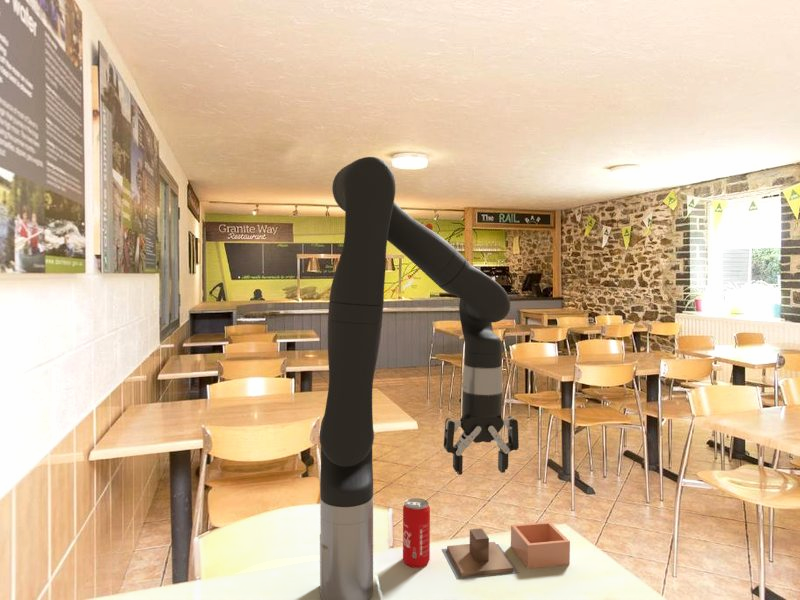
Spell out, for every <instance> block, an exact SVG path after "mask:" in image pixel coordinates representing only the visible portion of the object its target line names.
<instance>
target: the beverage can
mask: <svg viewBox="0 0 800 600" xmlns="http://www.w3.org/2000/svg"><path fill="white" fill-rule="evenodd" d="M403 503H404V504H403V507H402V560H403V562H404V564H405V565H406V566H408V567H411V568H417V569H419V568H423V567H426V566H427V565H428V564H429V561H430V560H431V558H430V557H431V556H430V555H431V552H430V551H431V550H430V549H431V548H430V547H431V538H430V537H431V536H430V535H431V533H430V532H431V508H430V507H431V506H430V503H429V501H427V500H426V499H423V498H418V497H417V498H415V497H414V498H409V499H407V500H405V501H404V502H403Z"/></svg>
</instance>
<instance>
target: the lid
mask: <svg viewBox="0 0 800 600" xmlns="http://www.w3.org/2000/svg"><path fill="white" fill-rule="evenodd" d="M488 536H489V535H487V533H486V532H485V530H483V528H473V529H471V528H470V529H469V543H468V544H464V543H463V544H454V545H447V546H446V549H447V551H448V553H449V554H450V556H451V558H452V560H453V562H454V564H455V566H456V568H457V569H458V571H459V573H460V575H461V577H468V576H478V575H488V574H498V573H508V572H513V567H512V565H511V564H510V563H509V561H508V560H507V558H506V557H505V556H504V554H503V553H502V552H501V550H500V549H499V547H498V546H497V545H496V544H497V543H496V541H490V538H489V537H488Z"/></svg>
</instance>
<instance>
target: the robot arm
mask: <svg viewBox="0 0 800 600" xmlns="http://www.w3.org/2000/svg"><path fill="white" fill-rule="evenodd" d="M331 187H332V188H331V189H332V195H333V198H334V201H335V202H336V204H337V206H338V207H339V208H340V209H341V211H344V214H345V215H344V217H345V219H344V237H343V244H342V250H341V253H340V256H339V259H338V262H337V265H336V269H335V271H334V276H333V279H332V283H331V286H330V293H329V303H328V313H327V314H328V315H327V359H328V360H327V361H328V362H327V363H328V388H327V389H328V390H327V395H326V396H327V398H326V403H325V409H324V414H323V417H322V419H321V422H320V429H319V430H320V431H319V437H318V438H319V444H320V479H319V480H320V481H319V486H320V487H319V493H320V494H319V496H320V497H319V500H320V501H319V503H320V504H319V505H320V506H319V507H320V508H319V509H320V518H319V519H320V522H319V523H320V534H319V589H320V600H369V599H370V598H371V597H372V595H373V593H374V470H373V469H374V468H373V444H374V440H375V431H374V421H373V419H374V417H373V413H374V412H373V387H374V377H375V371H376V366H377V361H378V356H379V351H380V350H379V348H380V341H381V333H382V325H383V318H384V317H383V315H384V314H383V313H384V301H385V300H384V298H385V296H384V295H385V284H386V283H385V280H386V279H385V278H386V267H387V265H386V264H387V245H388V242H389V244H391V245H392V246H394V247H395V249H397V250H398V251H400V252H401V253H402V254H403V255H404V256H405V257H406V258H407V259H408V260H410V261H411V262H412V263H413V264H414V265H415V266H416V267H417V268H419V269H420V270H421V271H422V272H423V273H424V274H425V275H426V276H427V277H428V278H430V280H432V281H433V282H434V283H435V284H436V285H437V286H438V287H439V288H440V289H442V290H443V291H444V292H446V293H448V294H451V295H453V296H456V297H458V299H459V304H458V311H459V312H458V313H459V319H460V326H461V331H462V335H463V338H464V345H465V346H464V365H463V366H464V367H463V372H462V373H463V374H462V383H461V388H462V401H461V402H462V403H461V405H462V406H461V409H462V410H461V418H460V419H459V420H458V419H457V420H456V419H452V418H449V417H447V418H446V419H445V422H444V423H445V424H444V435H443V448H444V450H446V452H447V453H449V454H452V467H453V470H454V472H456V474H457V475H463V463H464V462H463V459H464V458H463V457H464V456H463V453H464V452H465V451H466V449H467V448H469V447H470V446H471V444H472V443H475V444H479V443H483V442H484V443H491V442H492V441H494V443H495V444H496V445H497V447H498V449H499V450H498V453H497V455H498V456H497V469H498V471H499V472H500V473H502V474H503V473H504V474H505V473H506V470H508V468H509V455H510V452H513V451H517V450H519V449H520V447H519V443H520V439H519V422H518V420H517V419H516V418H515V417H513V416H508V417H507V418H503V416H502V413H503V382H504V381H503V370H502V369H503V367H502V364H503V363H502V362H503V361H502V359H503V358H502V357H503V356H502V355H503V354H502V353H503V342H502V340H501V338H500V336H499V335H497V334H496V333H495V332H494V330H493V323H497V322H500V321H502V320H504V319H505V318H507V316H508V314H509V313H510V310H511V300H510V297H509V295H508V293H507V291H506V290H505V288H504V287H502V285H501V284H500V283H499V282H497V281H495V280H494V279H493V278H492V277H490V275H487V274H486V273H484V271H481V270H480V269H478V268H477V267H475V266H473V264H472V263H470V262H469V261H468V260H467V259H466V258H465V257H464V256H463V254H461V253H460V252H459V251H458V250H457V249H456V248H455V247H454V246H453V245H452V244H450V243H449V242H448V241H447V240H446V239H444V238H443V237H442V236H441V235H439V234H438V233H436V232H435V231H433V230H432V229H430V228H428V227H427V226H425V225H424V224H422V223H420V222H419V221H417V220H416V218H413V217H412V216H411V215H409V214H408V213H407V212H406V211H404V210H403V209H402V208H401V207H400V206H399V205H398V204H397V203H396V201H395V196H396V189H397V188H396V187H397V186H396V180H395V176H394V173H393V171H392V169H391V168H390V166H389V165H388V164H387V163H386V162H385V161H384V160H382V159H381V158H379V157H375V156H365V157H361V158H359V159H356V160H354V161H352V162H351V163H349V164H347V165H346V166H344V167H342V168H341V169H340V170H339V171H338V172H337V173H336V174H335V176H334V179H333V181H332V186H331ZM459 427H460V428H461V429H462V433H461V434H460V435H459V437H458V439H457V441H456V442H455V444H454V441H455V439H454V438H455V433H456V432H457V431H458V428H459ZM503 427H504V428H505V429H507V442H505V441H504V439H503V437H501V435H500V433H499V432H501V430H502V428H503Z"/></svg>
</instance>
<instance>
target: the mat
mask: <svg viewBox="0 0 800 600" xmlns="http://www.w3.org/2000/svg"><path fill="white" fill-rule="evenodd" d="M496 545H497V546H498V547H499V549H500V550H501V552H502V553H503V554H504V556H505V557H506V558H507V560H508V561H509V563H510V564H511V565H512V567H513V572H508V573H498V574H488V575H478V576H468V577H461V575H460V573H459V571H458V569H457V568H456V566H455V564H454V562H453V560H452V558H451V556H450V554H449V553H448V551H447V548H441V552H442V553H443V554H444V557H445V558H446V560H447V561H446V562H448V564H449V567H450V568H451V570H452V572H453V574H454V576H455V578H456V580H466V579H473V578H483V577H485V578H486V577H495V576H503V575H506V576H507V575H516V574H520V571H519V570H518V569H517V568H516V566H515V565H514V564H513V562H512V561H511V559H510V558H509V557H508V556H507V554H506V552H505V551H504V549H502V547H501V546H500V545H499V544H498V543H496Z"/></svg>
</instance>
